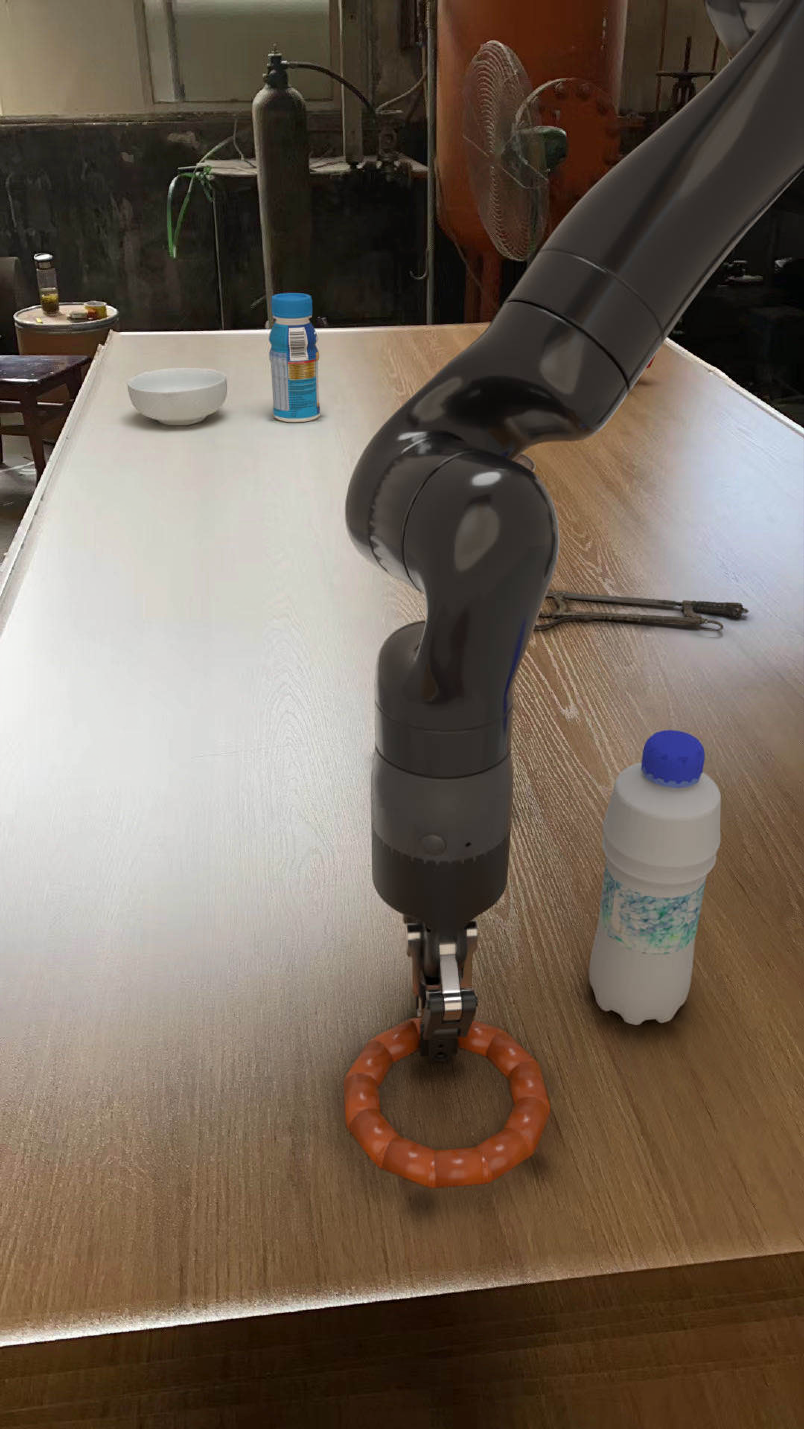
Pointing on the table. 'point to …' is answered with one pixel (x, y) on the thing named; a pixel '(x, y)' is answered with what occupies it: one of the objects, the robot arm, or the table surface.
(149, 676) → the table surface
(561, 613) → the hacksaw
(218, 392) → the cereal bowl
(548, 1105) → the ring
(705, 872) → the bottle
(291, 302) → the beverage bottle
